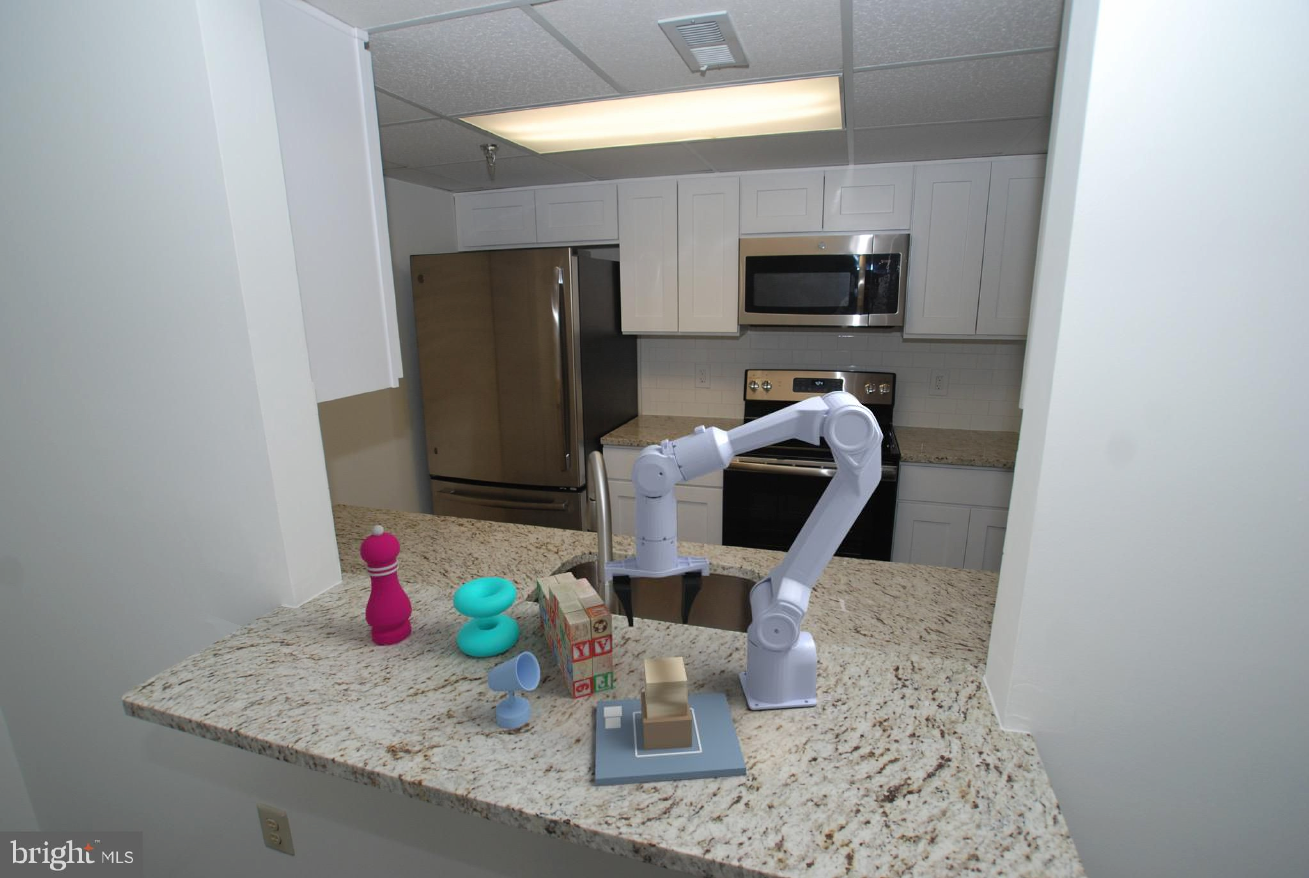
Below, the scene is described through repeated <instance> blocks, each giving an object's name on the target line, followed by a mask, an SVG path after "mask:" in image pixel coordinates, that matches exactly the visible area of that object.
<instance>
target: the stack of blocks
mask: <svg viewBox="0 0 1309 878" xmlns="http://www.w3.org/2000/svg"><path fill="white" fill-rule="evenodd" d="M536 590H537V592H536V593H537V596H538V597H537V598H538V608H539V609H538V610H539V621H540V627H541V629H542V632H543V634H544V637H545V640H546V641H547V644H548V646H549V648H550V650H551V653H552V654H553V656H554V659H555V660H556V663H557V665H558V667H559V669H560V671H561V674H562V677H563V679H564V681H565V684H566V685H567V687H568V691H569V693H570V696H571V698H572V699H573V700H576V699H579V698H584V697H587V696H590V695H593V694H598V693H601V692H604V691H607V690H611V689H614V669H613V666H614V665H613V660H614V658H613V651H614V650H613V649H614V647H613V615H612V613H611V612H610V610H609V609H608V608H607V606H606V605H605V602H604V601H603V600H602V598H601V597H600V596H599V594H598V592H597V591H596V590H595V588H594V587H593V586H592V585H591V583H590V582H589V581H588V579H586V577H585V578H583V577H582V578H579V579H576V578H575V576H574V574H573V573H572V571H571V572H570V571H569V572H565V573H564V572H563V573H558V574H554V575H549V576H546V577H545V576H544V577H540V578H536Z"/></svg>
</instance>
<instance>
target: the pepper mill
mask: <svg viewBox="0 0 1309 878" xmlns="http://www.w3.org/2000/svg"><path fill="white" fill-rule="evenodd" d="M384 531H385V529H384V527H383V526H382V525H379V524H376V525H374V526H373V527H372V528H371V533H372V534H371V535H368V536H367V537H365V539H364V540H363V541H362V542H361V545H360V549H359V554H360V558H361V559H362V560H363V561H364V563H365V564H366V565H365V569H366V574H367V575H368V576H369V577H370V585H371V588H370V594H369V597H368V601H367V603H366V607H365V613H364V615H365V621H366V623H367V625H368V626H370V627H371V630H370V633H371V634H370V635H371V641H372V642H373V643H374V644H375V645H378V646H390V645H396V644H399V643H401V642H403V641H404V640H406V639H408V638H409V637H410V635H411V634H412V625H411V624H412V623H411V622H412V621H411V620H410V618H411V615H412V612H413V607H412V602H411V599H410V598H409V596H408V594H407V593H406V592H405V590H404V589H403V587H402V586H401V583H400V581H399V577H398V570H399V568H400V564H399V559H398V556H399V554H400V552H401V545H400V541H399V540H398V538H397V537H396V536H395V535H394V534H393V533H390V532H386V531H385V532H384Z"/></svg>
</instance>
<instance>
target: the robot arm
mask: <svg viewBox="0 0 1309 878" xmlns="http://www.w3.org/2000/svg"><path fill="white" fill-rule="evenodd" d="M693 430H694V431H693V433H691V434H689V435H686V436H682V437H680V438H677V439H675V440H671V441H669V439H664V440H661V441H660V445H659V444H653V445H647V446H646V447H644V448H643V449H642V450H641V451H640V452H639V453H638V455H637V457H636V458H635V461H634V463H633V465H632V466H631V467H632V468H631V473H630V478H631V479H630V480H631V483H632V485H633V487H634V496H635V500H634V532H635V534H634V535H635V539H634V540H635V556H634V557H629V558H624V559H620V560H614V561H605V562H604V563H603V564H604V571H603V572H604V581H605V582H608V581H609V582H610V581H612V587H613V588H612V589H613V591H614V593H615V594H616V596H617V598H618V600H619V601H620V603H621V605H622V607H623V610H624V613H625V616H626V619H627V627H628V628H634V613H633V612H634V610H633V602H632V580H631V578H640V577H641V578H642V577H643V578H644V577H645V578H652V579H653V578H654V579H655V578H659V579H660V578H666V577H670V576H680V577H681V601H680V602H681V603H680V617H681V621H682V624H683V625H687V624H689V617H690V613H691V611H692V607H693V604H694V602H695V599H696V598H697V596H698V594H699V592H700V591H701V590H702V587H703V578H702V576H703V577H704V576H705V577H707V576H710V562H709V561H710V560H709V559H708V557H706V556H704V557H703V556H702V557H701V556H687V555H679V554H678V534H677V533H678V531H677V529H678V527H677V524H678V523H677V520H678V518H677V513H678V512H677V500H676V498H675V497H676V496H675V495H676V494H675V493H676V492H675V487H676V486H675V485H676V484H679V483H681V484H682V483H686V482H689V481H692V480H695V479H698V478H701V477H703V476H706V475H710V474H712V473H716V472H718V471H719V472H720V470H724V469H726V468H728V467H729V466H730V464H731V462H732V460H733V458H734V457H735V456H736V455H737V456H738V455H739V454H743V453H746V452H751V451H753V450H756V449H760V448H763V447H767V446H771V445H774V444H777V443H781V442H784V441H787V440H790V439H797V440H800V441H802V442H803V441H804V442H806V443H809V444H812V445H815V446H820V437H823V439H824V440H825V442H826V444H827V445H828V446H829V448H830V451H831V454H832V456H833V459H834V462H835V465H836V468H837V470H836V473H835V474H834V476H833V477H832V479H830V482H829V484H828V486H826V489H825V490H824V492H823V494H822V495H821V497H820V499H819V500H818V502H817V503H816V505H815V506H814V508H813V510H812V512H811V513H810V515H809V517H808V518H807V520H806V522H805V523H804V525H803V526H802V528H801V530H800V532H799V533H798V534H797V536H796V538H795V540H794V542H793V543H792V545H791V546H790V547H789V550H788V551H787V553H786V554H785V556H784V558H783V559H782V561H781V563H780V564H779V565H776V566H774V567H772V568H771V570H770V571H769V573H768V574H767V575H766V577H764V578H763V579H761V580H759V581H757V582H756V583H755V585H753V586H752V588H751V590H750V592H749V603H750V606H751V615H752V621H751V623H750V624H749V626H748V627H747V629H746V630H747V631H746V635H747V636H746V671H743V672H742V671H741V672H739V673H738V678H739V681H740V684H741V687H742V690H743V693H744V696H745V698H746V701H747V705H748V708H749V709H750V710H753V711H757V710H758V711H759V710H771V709H773V710H774V709H785V708H786V709H788V708H801V707H814V706H817V704H818V701H817V698H816V694H817V693H816V691H817V673H818V655H817V648H816V643H815V641H814V637H813V636H812V634H811V633H810V632H809V631H806V630H805V631H804V630H803V631H801V625H802V621H803V619H804V617H806V614H807V611H808V608H809V602H810V596H811V592H812V590H813V588H814V586H815V585H816V583H817V582H818V580H819V579H820V577H821V575H822V574H823V572H824V570H825V568H826V567H827V566H828V565H829V562H830V561H831V560H832V558H833V556H834V555H835V553H836V552H837V550H838V548H839V547H840V545H841V544H842V542H843V540H844V539H845V537H846V536H847V534H848V533H849V531H850V529H851V528H852V526H853V525H854V523H855V521H856V520H857V518H858V516H859V515H860V514H861V512H862V510H863V508H865V506H866V504H867V503H868V501H869V499H870V498H871V496H872V494H873V493H874V492H875V490H876V488H877V487H878V485H879V483H880V481H881V479H882V441H883V439H884V435H883V433H882V430H881V427H880V426H879V423H878V421H877V419H876V417H875V416H874V414H873V412H872V411H871V410H870V409H869V408H868V407H866V406H864V405H862V403H860V401H859V400H858V399H857V398H856V396H854V395H853V394H851V393H850V392H847V391H844V390H843V391H841V390H839V391H837V390H836V391H831V392H828V393H826V394H825V395H823V396H819V395H817V396H813V397H810V398H807V399H804V400H802V401H799V402H797V403H795V404H791V405H789V406H787V407H784V408H782V409H780V410H777V411H775V412H773V413H772V412H771V413H768V414H767V415H764V416H762V417H760V418H757V419H754V420H752V421H750V422H747V423H745V424H743V425H740V426H737V427H734V428H732V429H730V430H723V429H720V428H719V427H716V426H710V427H708V428H705V425H703V424H702V425H699V426H697V427H695V428H694V429H693Z"/></svg>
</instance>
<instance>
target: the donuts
mask: <svg viewBox="0 0 1309 878" xmlns="http://www.w3.org/2000/svg"><path fill="white" fill-rule="evenodd" d="M517 592H518V591H517V588H516V586H515V585H514V583H513V582H512V581H510V580H508V579H506V578H504V577H497V576H496V577H495V576H487V577H486V576H484V577H481V578H479V577H478V578H475V579H473V580H470V581H467V582H466V583H464V584H462V585H461V586H459V588H457V590H455V592H454V595H453V596H452V605H453V607H454V609H455V610H456V611H457V612H458V613H459V614H461V615H462V616H465V617H468V618H470V619H471V620H468V621H467V622H466V623H465V624H463V625H462V627H461V628H460V630H459V631H458V634H457V637H456V641H457V643H456V644H457V645H458V648H459V649H460V650H461V651H462V652H463V653H464V654H466V655H468V656H472V657H475V658H487V657H488V658H489V657H492V656H497V655H500V654H502V653H504V652H506V651H508V650H509V649H511V648H512V647H513V646H514V645H515V644H516V643H517V642H518V640H519V637H520V633H521V631H520V627H519V624H518V622H517V621H516V620H515V619H514V618H512V617H511V616H509V615H505V614H503V613H504V612H506V611H507V610H508V609H510V608H511V607H512V606H513V604H514V603H515V601H516V599H517Z"/></svg>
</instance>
